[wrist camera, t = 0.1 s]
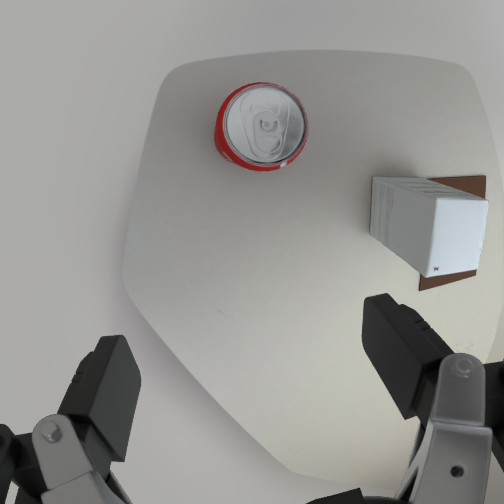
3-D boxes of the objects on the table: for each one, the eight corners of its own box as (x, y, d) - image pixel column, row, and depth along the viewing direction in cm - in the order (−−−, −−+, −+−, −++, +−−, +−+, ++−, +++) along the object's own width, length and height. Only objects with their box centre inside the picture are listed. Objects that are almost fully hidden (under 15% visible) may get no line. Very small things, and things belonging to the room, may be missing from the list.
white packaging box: (416, 232, 37) (478, 272, 25) (367, 234, 36) (424, 280, 25) (421, 176, 34) (491, 200, 23) (371, 174, 34) (436, 197, 22)
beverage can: (210, 158, 32) (201, 177, 18) (222, 98, 29) (223, 68, 15) (265, 168, 33) (300, 195, 19) (278, 109, 30) (323, 91, 16)
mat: (425, 178, 34) (426, 179, 34) (485, 175, 35) (486, 175, 35) (418, 290, 40) (419, 291, 40) (475, 274, 41) (475, 275, 41)
